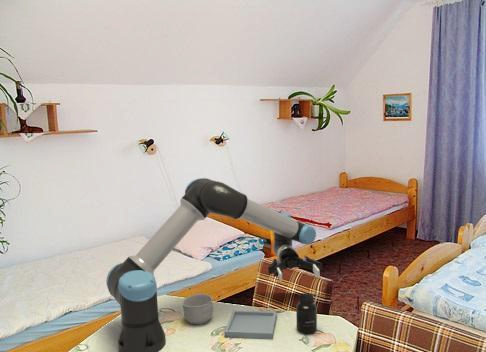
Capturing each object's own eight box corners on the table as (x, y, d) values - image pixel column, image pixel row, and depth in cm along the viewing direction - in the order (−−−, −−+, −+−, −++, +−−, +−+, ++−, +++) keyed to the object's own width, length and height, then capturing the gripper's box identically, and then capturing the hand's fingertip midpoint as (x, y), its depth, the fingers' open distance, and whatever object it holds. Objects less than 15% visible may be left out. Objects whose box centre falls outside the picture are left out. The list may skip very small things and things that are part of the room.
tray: (224, 337, 146) (224, 331, 146) (233, 315, 161) (233, 310, 161) (272, 339, 143) (272, 333, 143) (276, 316, 159) (276, 311, 158)
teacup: (208, 328, 153) (207, 306, 152) (179, 326, 155) (177, 305, 154) (218, 310, 166) (217, 290, 165) (191, 309, 168) (190, 289, 167)
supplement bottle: (309, 337, 143) (308, 302, 142) (292, 331, 148) (291, 297, 146) (321, 329, 148) (320, 295, 147) (304, 323, 153) (303, 290, 151)
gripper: (318, 263, 178) (334, 282, 158) (257, 268, 176) (265, 289, 155) (318, 245, 177) (333, 262, 156) (256, 250, 175) (264, 268, 154)
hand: (300, 275), depth 156 cm, fingers open, 13 cm apart
